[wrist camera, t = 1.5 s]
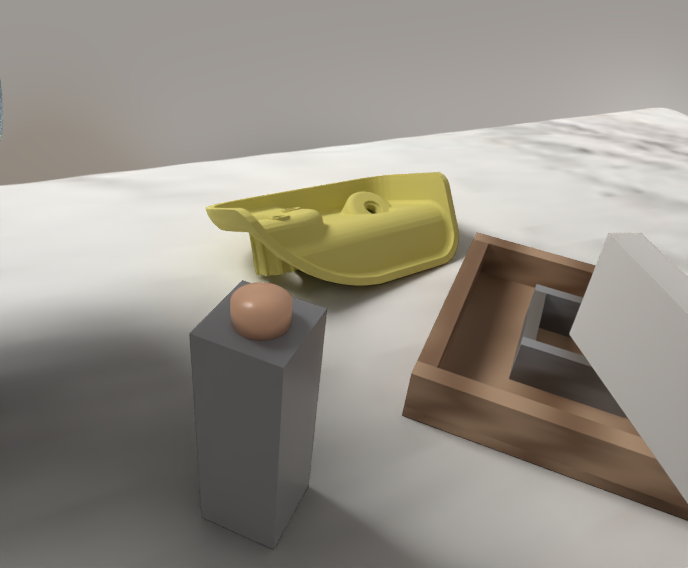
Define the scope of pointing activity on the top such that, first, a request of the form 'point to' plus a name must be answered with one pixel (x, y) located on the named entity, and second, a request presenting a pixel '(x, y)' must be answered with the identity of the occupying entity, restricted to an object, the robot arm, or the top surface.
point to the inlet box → (530, 375)
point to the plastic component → (349, 228)
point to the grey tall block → (256, 407)
